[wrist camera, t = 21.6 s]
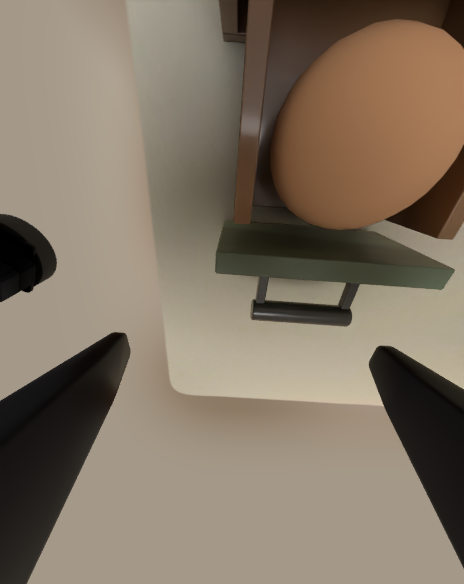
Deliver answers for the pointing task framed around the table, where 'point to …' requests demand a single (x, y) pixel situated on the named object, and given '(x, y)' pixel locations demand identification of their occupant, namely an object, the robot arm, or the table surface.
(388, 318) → the table surface
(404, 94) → the egg
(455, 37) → the drawer
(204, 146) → the table surface
